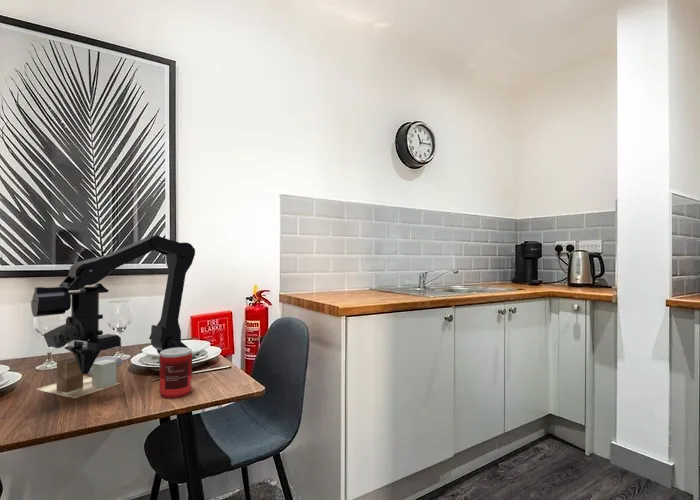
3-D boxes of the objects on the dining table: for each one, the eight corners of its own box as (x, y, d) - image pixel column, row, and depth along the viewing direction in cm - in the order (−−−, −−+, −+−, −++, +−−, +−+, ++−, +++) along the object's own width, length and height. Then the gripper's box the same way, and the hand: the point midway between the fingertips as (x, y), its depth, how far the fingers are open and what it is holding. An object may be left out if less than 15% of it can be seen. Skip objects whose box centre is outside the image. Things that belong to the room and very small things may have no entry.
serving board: (120, 385, 106) (120, 382, 106) (74, 401, 95) (74, 398, 95) (82, 378, 112) (82, 375, 112) (35, 392, 101) (35, 389, 101)
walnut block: (82, 389, 101) (83, 359, 101) (66, 395, 97) (66, 363, 97) (73, 387, 102) (73, 357, 102) (56, 392, 98) (56, 361, 98)
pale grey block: (116, 383, 106) (116, 361, 106) (102, 387, 102) (102, 365, 102) (106, 381, 107) (106, 359, 107) (91, 385, 104) (92, 363, 104)
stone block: (65, 382, 114) (94, 378, 112) (63, 366, 115) (91, 361, 113) (99, 371, 126) (125, 367, 124) (97, 357, 126) (123, 352, 124)
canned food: (178, 386, 106) (178, 345, 106) (198, 391, 102) (198, 349, 102) (152, 395, 99) (152, 352, 99) (173, 401, 96) (173, 356, 96)
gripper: (25, 314, 93) (25, 378, 93) (76, 319, 86) (75, 389, 86) (74, 307, 104) (73, 366, 104) (122, 312, 97) (122, 375, 97)
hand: (85, 373), depth 97 cm, fingers closed
